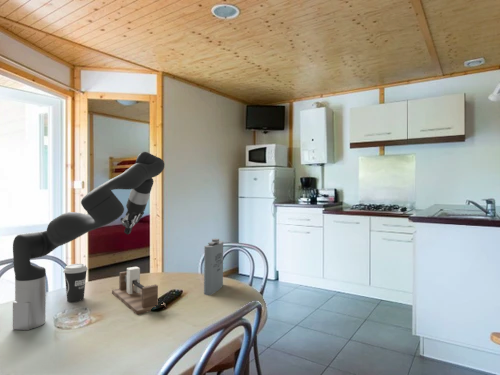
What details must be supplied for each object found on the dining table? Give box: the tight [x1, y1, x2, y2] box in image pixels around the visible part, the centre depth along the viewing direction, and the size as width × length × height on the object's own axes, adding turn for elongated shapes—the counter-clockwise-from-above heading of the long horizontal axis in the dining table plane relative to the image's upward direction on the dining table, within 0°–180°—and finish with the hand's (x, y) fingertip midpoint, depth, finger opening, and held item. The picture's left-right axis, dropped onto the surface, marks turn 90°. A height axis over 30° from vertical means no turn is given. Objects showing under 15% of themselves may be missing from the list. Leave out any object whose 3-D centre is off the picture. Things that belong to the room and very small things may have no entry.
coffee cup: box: [63, 263, 89, 303], centre depth 144 cm, size 10×10×15 cm
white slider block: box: [126, 266, 141, 294], centre depth 148 cm, size 4×5×11 cm
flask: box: [203, 238, 224, 296], centre depth 160 cm, size 17×5×25 cm, turn 164°
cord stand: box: [111, 270, 166, 315], centre depth 144 cm, size 32×12×10 cm, turn 39°
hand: (127, 233), depth 138 cm, fingers closed
